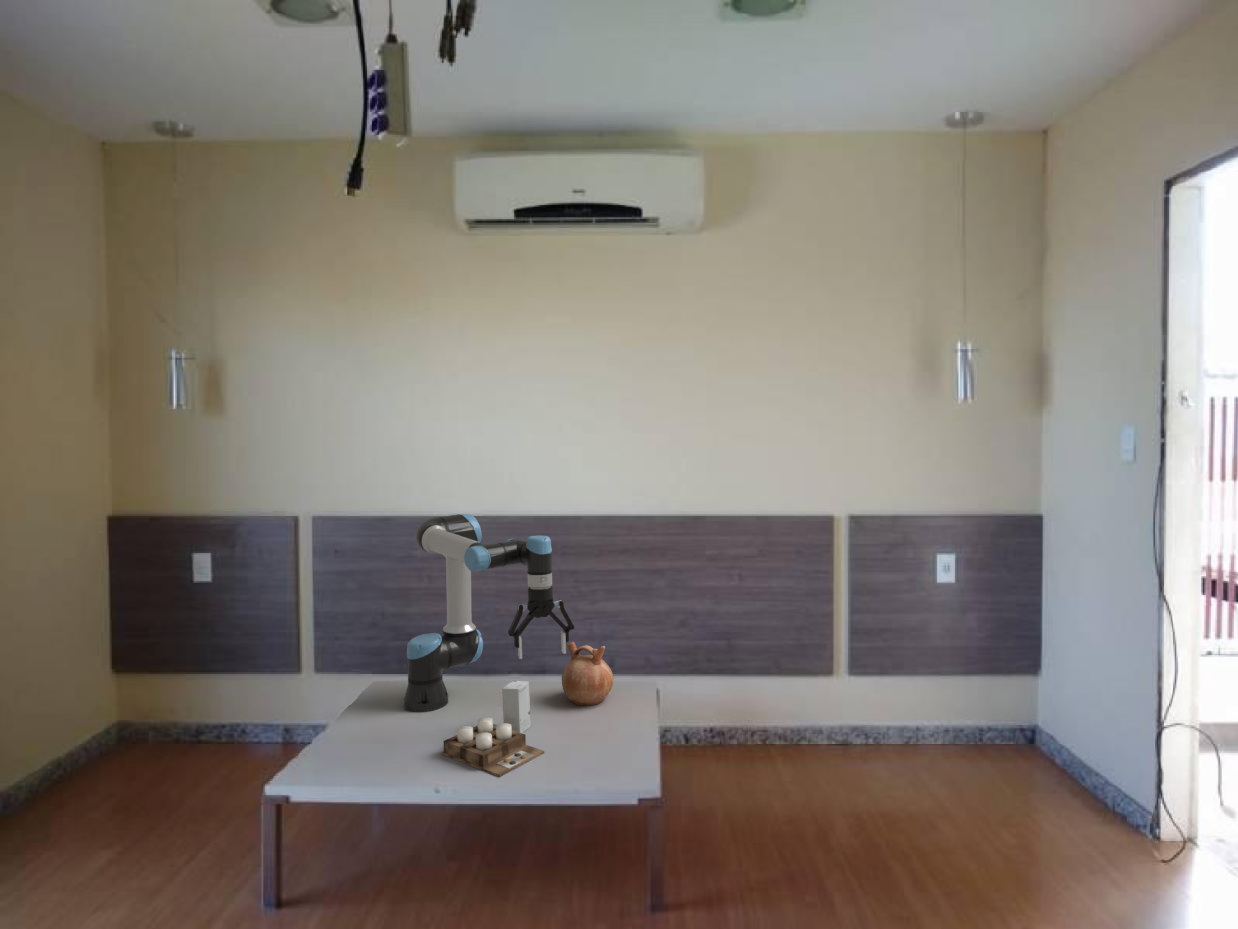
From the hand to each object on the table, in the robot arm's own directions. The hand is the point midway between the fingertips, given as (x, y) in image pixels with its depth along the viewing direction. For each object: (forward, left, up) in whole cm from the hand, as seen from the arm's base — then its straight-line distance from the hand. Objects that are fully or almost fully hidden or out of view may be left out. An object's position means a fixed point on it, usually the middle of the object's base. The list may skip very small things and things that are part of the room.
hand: (542, 655), depth 232 cm
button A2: (-12, -13, -23) cm, 29 cm away
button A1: (-12, -21, -23) cm, 33 cm away
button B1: (-4, -21, -23) cm, 31 cm away
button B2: (-4, -13, -23) cm, 27 cm away
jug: (-8, +32, -26) cm, 42 cm away
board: (-4, -17, -26) cm, 31 cm away
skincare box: (-10, -1, -26) cm, 28 cm away
